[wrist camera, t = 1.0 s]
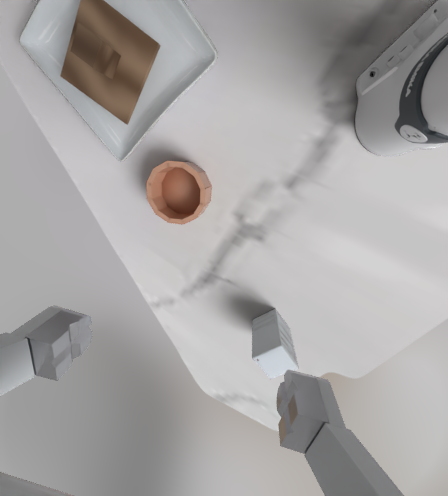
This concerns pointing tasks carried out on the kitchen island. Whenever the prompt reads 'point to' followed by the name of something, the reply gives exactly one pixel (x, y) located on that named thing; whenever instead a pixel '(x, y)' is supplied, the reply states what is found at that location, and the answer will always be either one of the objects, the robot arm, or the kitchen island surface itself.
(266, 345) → the supplement box
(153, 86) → the square plate
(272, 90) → the kitchen island surface
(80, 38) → the walnut lid
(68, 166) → the kitchen island surface
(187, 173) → the terracotta bowl
